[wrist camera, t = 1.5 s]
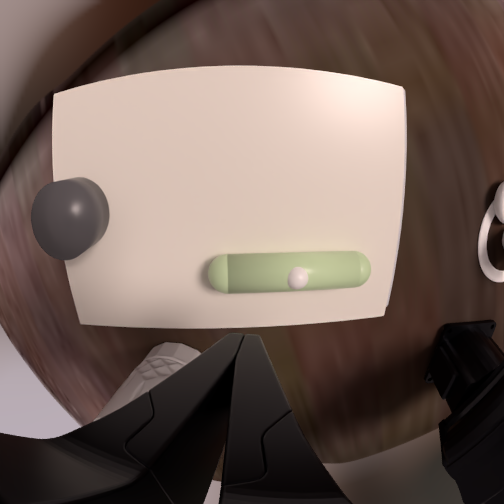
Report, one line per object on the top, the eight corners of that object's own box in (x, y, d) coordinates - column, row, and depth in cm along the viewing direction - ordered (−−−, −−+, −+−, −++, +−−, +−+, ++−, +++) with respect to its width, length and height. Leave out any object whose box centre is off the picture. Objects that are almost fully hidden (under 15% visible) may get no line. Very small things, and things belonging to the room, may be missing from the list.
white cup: (215, 337, 23) (174, 433, 13) (229, 401, 25) (204, 487, 16) (134, 332, 24) (74, 406, 14) (157, 393, 26) (117, 465, 17)
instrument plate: (393, 90, 12) (425, 80, 9) (376, 307, 16) (399, 334, 14) (59, 97, 11) (27, 90, 8) (83, 315, 15) (62, 342, 12)
